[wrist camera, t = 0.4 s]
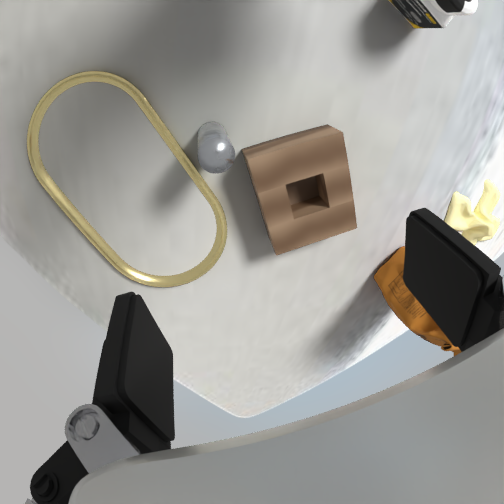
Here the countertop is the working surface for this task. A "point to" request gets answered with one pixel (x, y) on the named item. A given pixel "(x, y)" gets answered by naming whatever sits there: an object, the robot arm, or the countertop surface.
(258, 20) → the countertop surface
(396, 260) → the coffee package
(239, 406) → the countertop surface
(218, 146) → the pin
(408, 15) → the medicine bottle
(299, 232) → the bore block
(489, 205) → the cloth
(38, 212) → the countertop surface
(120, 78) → the wavy rubber band
